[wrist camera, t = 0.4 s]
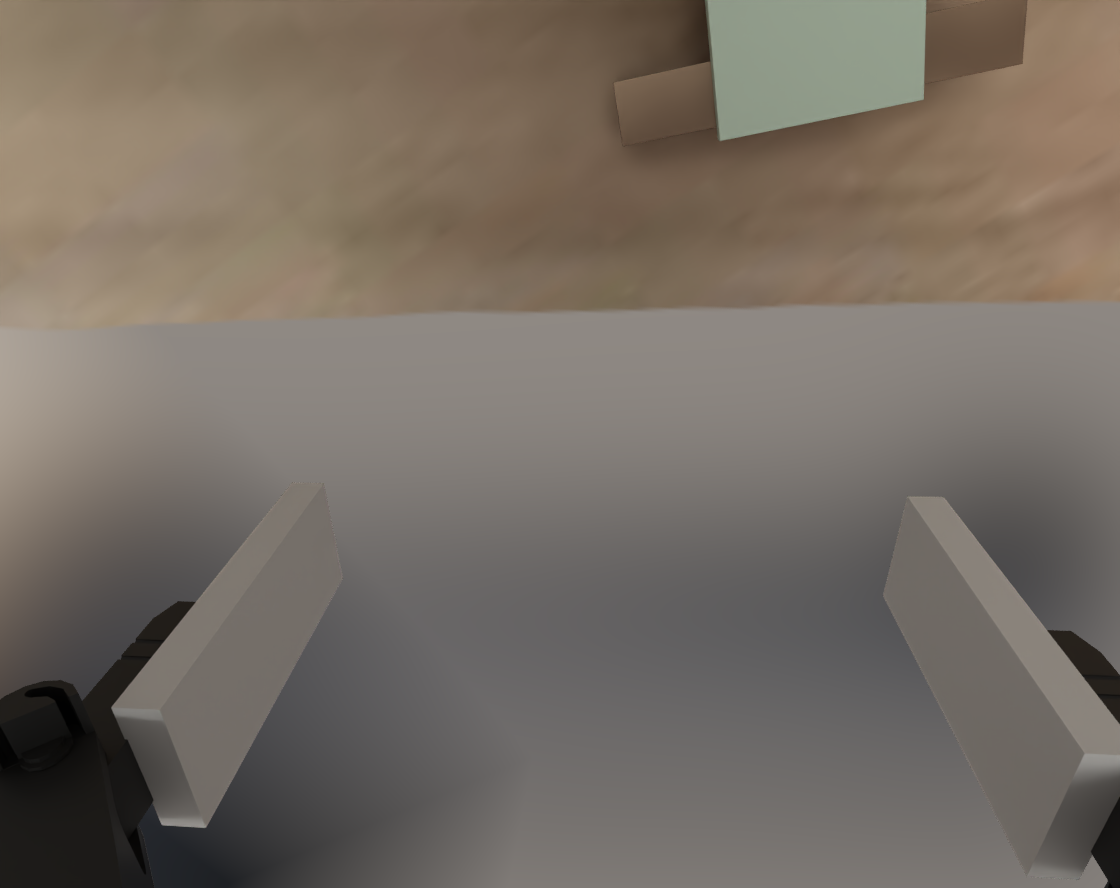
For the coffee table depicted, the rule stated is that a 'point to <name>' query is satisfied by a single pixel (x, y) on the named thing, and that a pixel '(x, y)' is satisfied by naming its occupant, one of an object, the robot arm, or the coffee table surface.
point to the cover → (811, 60)
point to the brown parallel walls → (950, 51)
